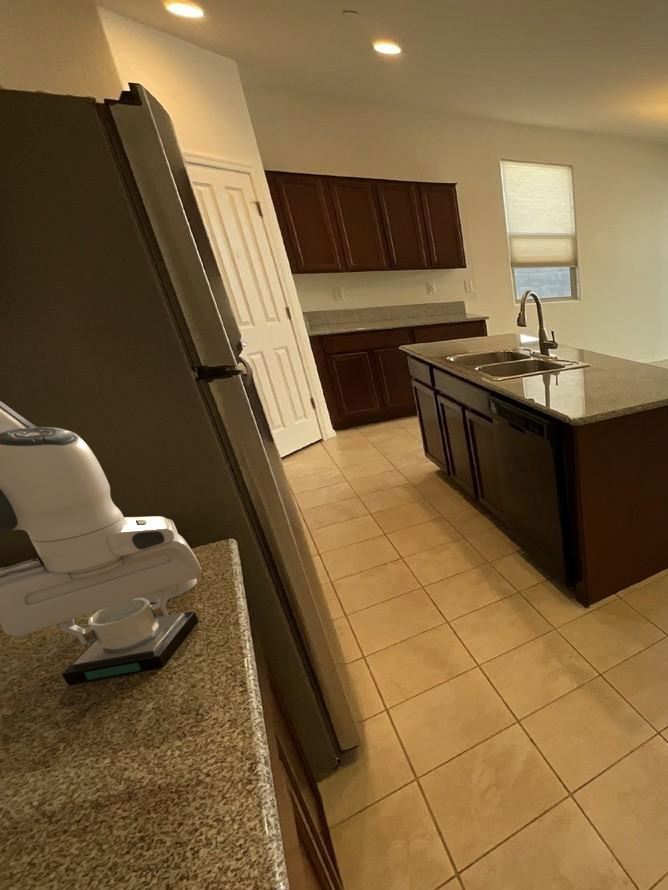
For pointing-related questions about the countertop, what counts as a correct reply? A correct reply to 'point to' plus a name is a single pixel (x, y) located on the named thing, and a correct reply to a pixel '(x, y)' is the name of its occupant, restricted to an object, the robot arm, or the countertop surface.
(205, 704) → the countertop surface
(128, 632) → the bowl
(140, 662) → the scale
